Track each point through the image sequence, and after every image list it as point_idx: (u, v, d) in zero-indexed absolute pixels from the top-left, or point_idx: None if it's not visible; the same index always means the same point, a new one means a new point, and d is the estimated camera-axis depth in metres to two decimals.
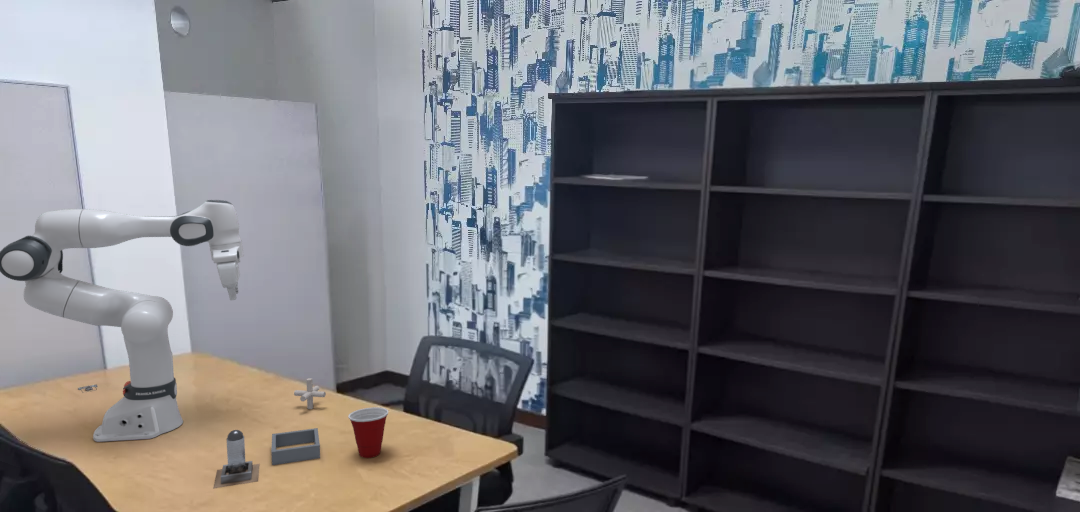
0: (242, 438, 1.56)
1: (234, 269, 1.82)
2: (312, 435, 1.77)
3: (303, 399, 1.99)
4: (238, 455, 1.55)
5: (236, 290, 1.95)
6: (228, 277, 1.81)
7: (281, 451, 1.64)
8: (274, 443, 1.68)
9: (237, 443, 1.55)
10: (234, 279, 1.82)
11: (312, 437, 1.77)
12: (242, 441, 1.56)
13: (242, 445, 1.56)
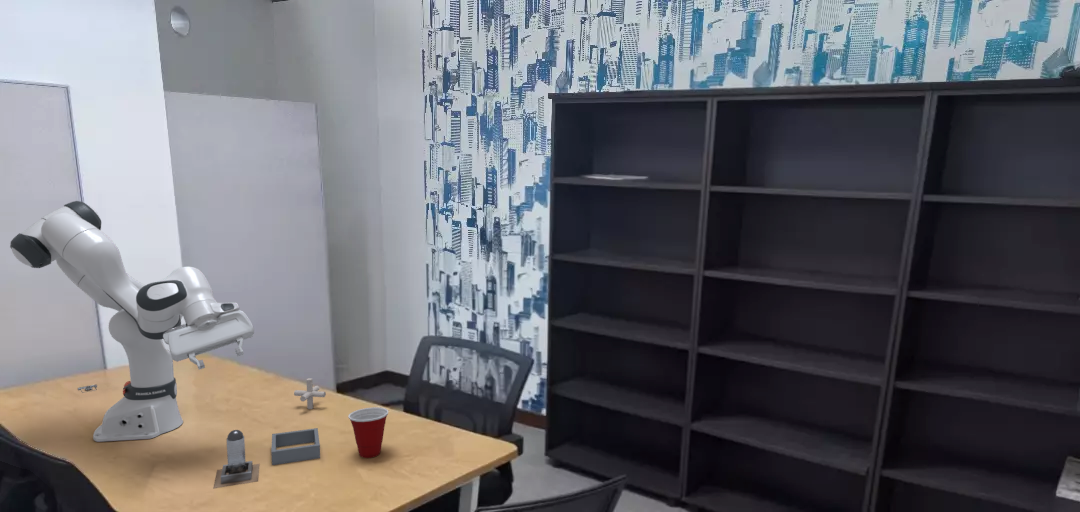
0: (242, 438, 1.56)
1: None
2: (312, 435, 1.77)
3: (303, 399, 1.99)
4: (238, 455, 1.55)
5: None
6: None
7: (281, 451, 1.64)
8: (274, 443, 1.68)
9: (237, 443, 1.55)
10: None
11: (312, 437, 1.77)
12: (242, 441, 1.56)
13: (242, 445, 1.56)
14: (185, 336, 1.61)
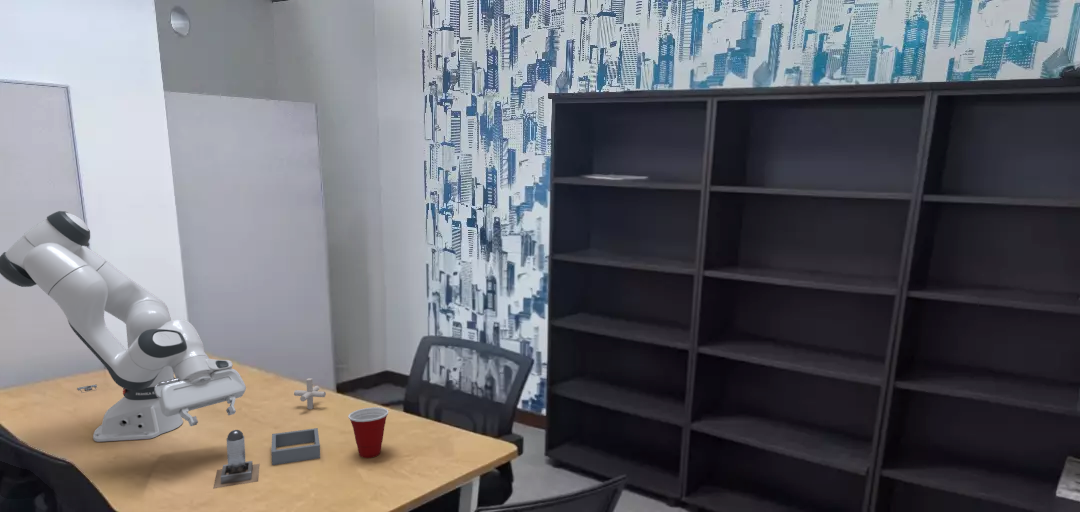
0: (242, 438, 1.56)
1: None
2: (312, 435, 1.77)
3: (303, 399, 1.99)
4: (238, 455, 1.55)
5: None
6: None
7: (281, 451, 1.64)
8: (274, 443, 1.68)
9: (237, 443, 1.55)
10: None
11: (312, 437, 1.77)
12: (242, 441, 1.56)
13: (242, 445, 1.56)
14: (178, 390, 1.58)
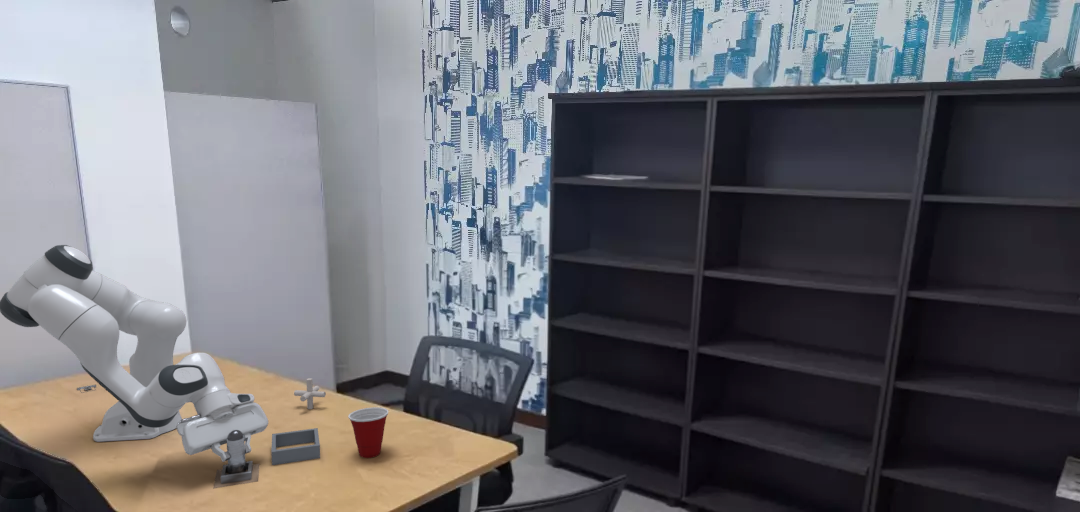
0: (242, 438, 1.56)
1: None
2: (312, 435, 1.77)
3: (303, 399, 1.99)
4: (238, 455, 1.55)
5: None
6: None
7: (281, 451, 1.64)
8: (274, 443, 1.68)
9: (237, 443, 1.55)
10: None
11: (312, 437, 1.77)
12: (242, 441, 1.56)
13: (242, 445, 1.56)
14: (201, 428, 1.54)
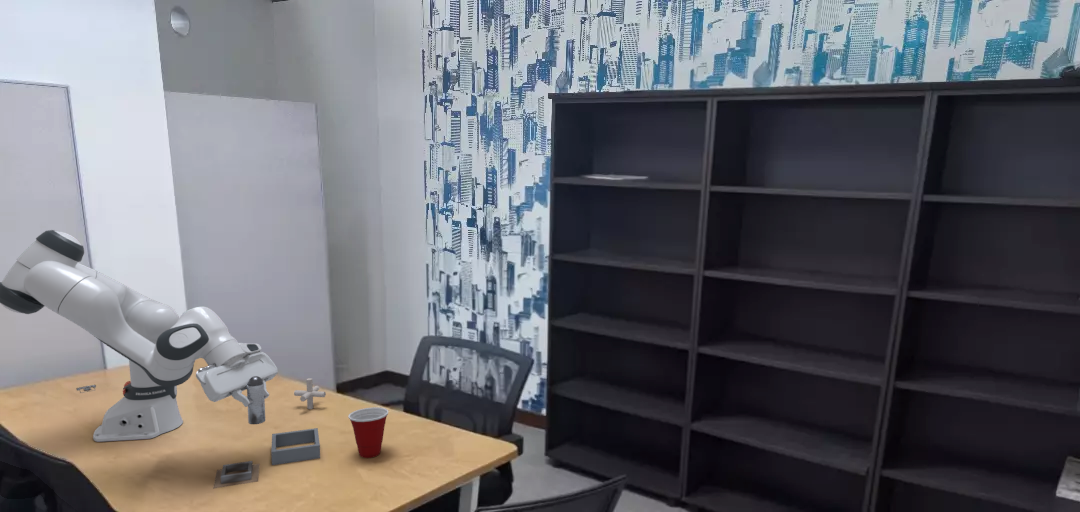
0: (263, 383, 1.59)
1: None
2: (312, 435, 1.77)
3: (303, 399, 1.99)
4: (260, 400, 1.58)
5: None
6: None
7: (281, 451, 1.64)
8: (274, 443, 1.68)
9: (259, 388, 1.58)
10: None
11: (312, 437, 1.77)
12: (263, 386, 1.59)
13: (263, 390, 1.59)
14: (221, 375, 1.55)
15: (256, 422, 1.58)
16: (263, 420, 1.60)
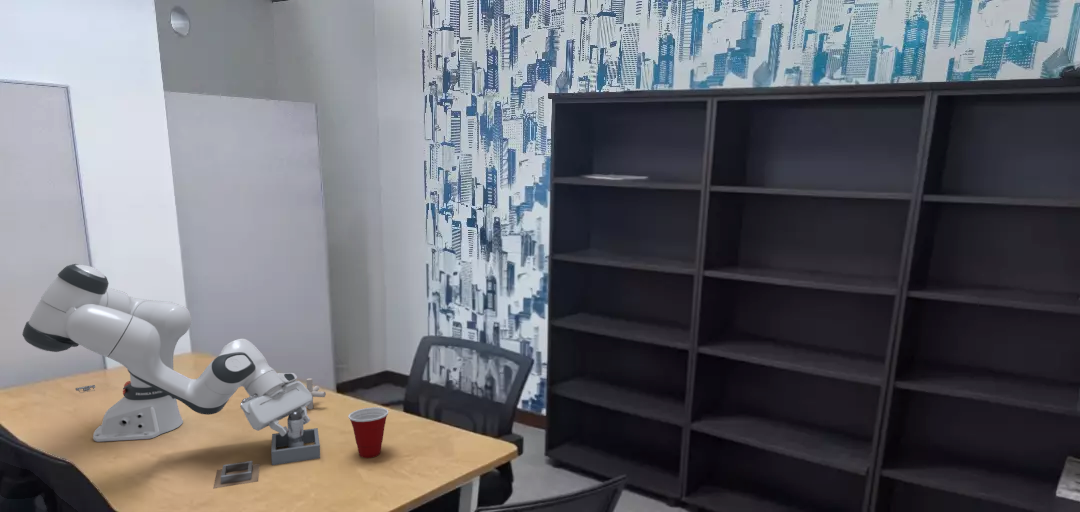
0: (302, 417, 1.70)
1: None
2: (312, 435, 1.77)
3: None
4: (300, 433, 1.69)
5: None
6: None
7: (281, 451, 1.64)
8: (274, 443, 1.68)
9: (299, 422, 1.69)
10: None
11: (312, 437, 1.77)
12: (302, 420, 1.70)
13: (302, 424, 1.70)
14: (263, 405, 1.65)
15: None
16: None
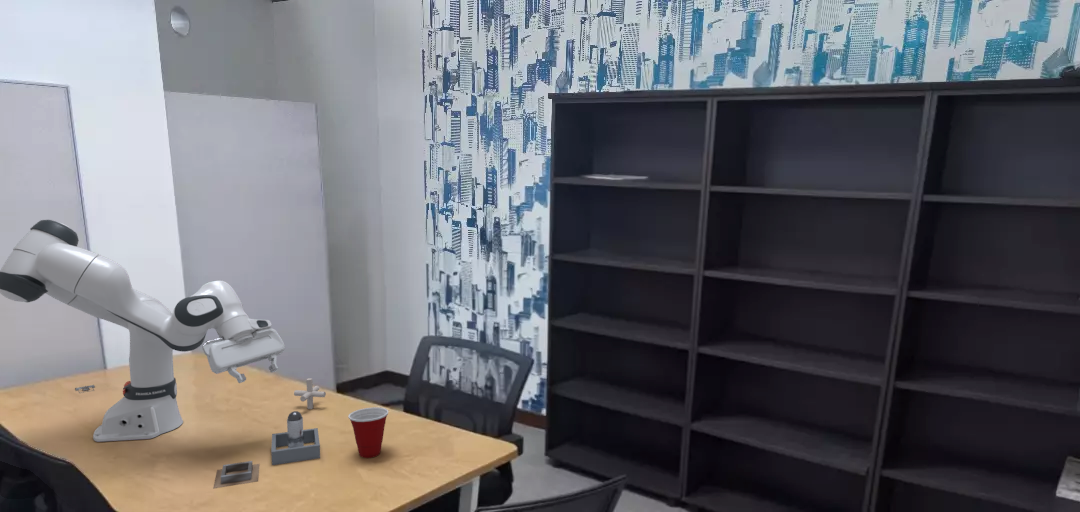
0: (302, 418, 1.70)
1: None
2: (312, 435, 1.77)
3: (303, 399, 1.99)
4: (299, 433, 1.69)
5: None
6: None
7: (281, 451, 1.64)
8: (274, 443, 1.68)
9: (299, 422, 1.69)
10: None
11: (312, 437, 1.77)
12: (302, 420, 1.70)
13: (302, 424, 1.70)
14: (226, 349, 1.65)
15: None
16: None
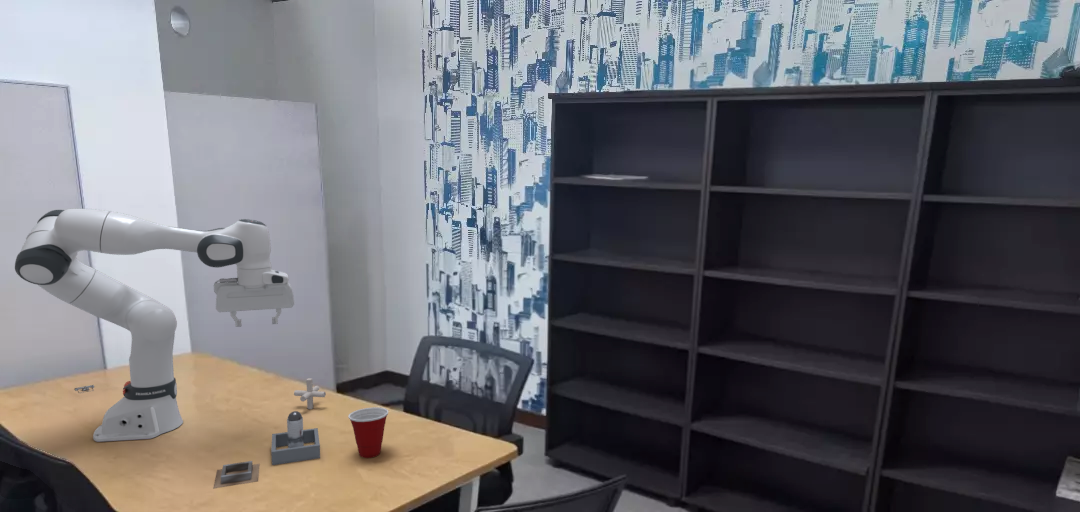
0: (302, 418, 1.70)
1: None
2: (312, 435, 1.77)
3: (303, 399, 1.99)
4: (299, 433, 1.69)
5: None
6: (293, 296, 1.80)
7: (281, 451, 1.64)
8: (274, 443, 1.68)
9: (299, 422, 1.69)
10: None
11: (312, 437, 1.77)
12: (302, 420, 1.70)
13: (302, 424, 1.70)
14: (232, 294, 1.72)
15: None
16: None
